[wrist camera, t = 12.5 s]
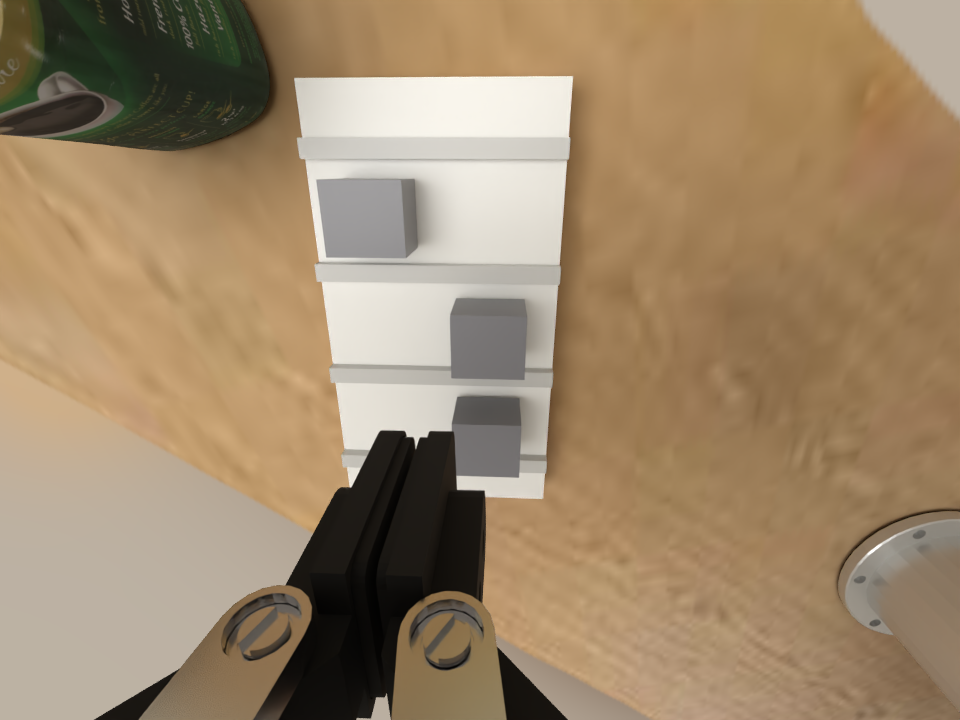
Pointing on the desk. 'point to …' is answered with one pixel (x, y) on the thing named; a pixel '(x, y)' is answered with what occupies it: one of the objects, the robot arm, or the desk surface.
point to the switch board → (442, 247)
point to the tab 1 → (368, 217)
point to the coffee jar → (129, 71)
